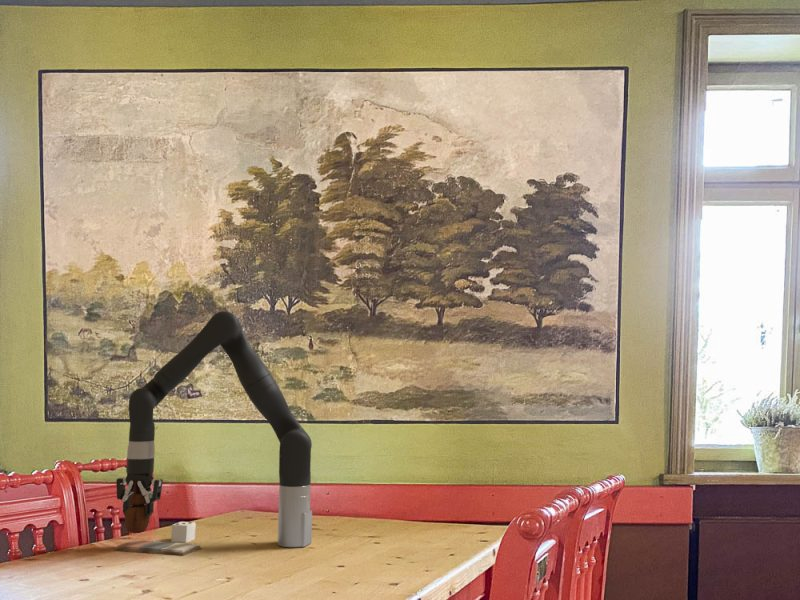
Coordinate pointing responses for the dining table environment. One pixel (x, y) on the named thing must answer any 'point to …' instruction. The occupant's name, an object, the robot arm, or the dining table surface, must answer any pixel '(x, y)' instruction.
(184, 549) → the game strip
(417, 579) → the dining table surface
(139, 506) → the wooden figurine
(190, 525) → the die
